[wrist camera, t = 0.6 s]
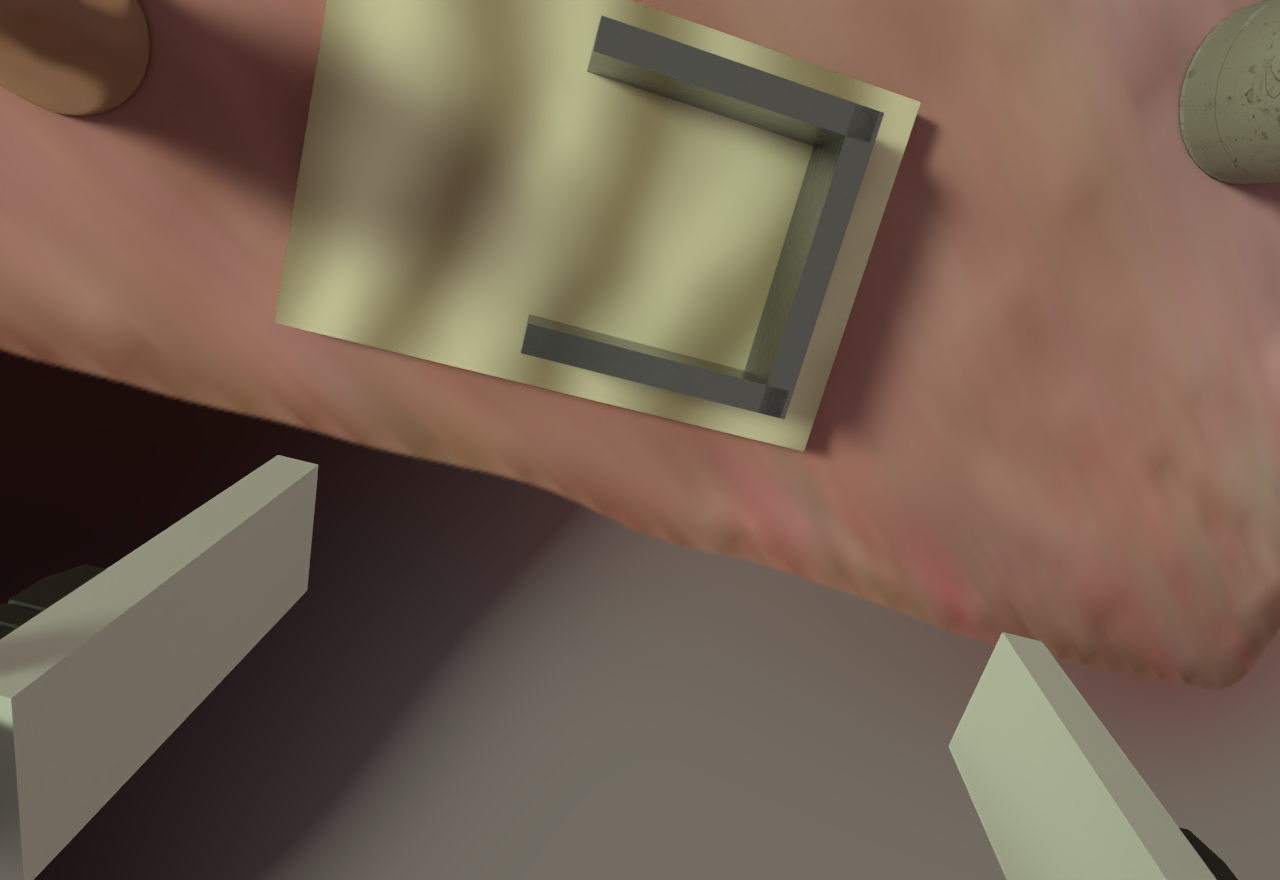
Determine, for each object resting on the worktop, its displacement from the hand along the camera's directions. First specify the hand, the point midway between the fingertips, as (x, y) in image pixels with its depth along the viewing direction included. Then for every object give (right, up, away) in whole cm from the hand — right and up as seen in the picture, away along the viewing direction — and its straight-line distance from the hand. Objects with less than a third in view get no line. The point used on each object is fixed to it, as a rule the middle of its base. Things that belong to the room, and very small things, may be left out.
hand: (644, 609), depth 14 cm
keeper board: (-2, +13, +19) cm, 23 cm away
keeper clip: (+2, +12, +18) cm, 22 cm away
